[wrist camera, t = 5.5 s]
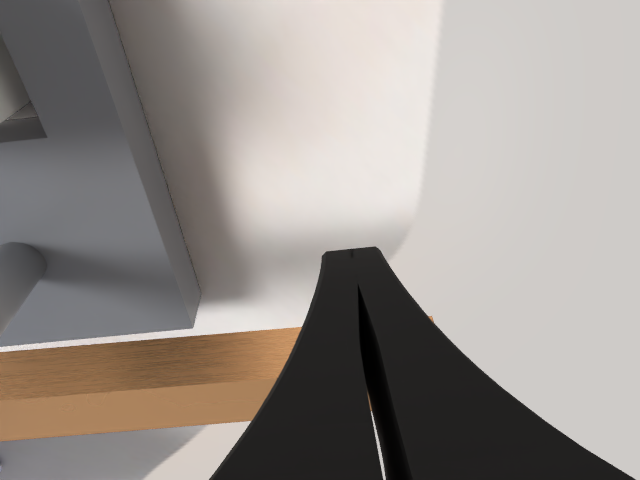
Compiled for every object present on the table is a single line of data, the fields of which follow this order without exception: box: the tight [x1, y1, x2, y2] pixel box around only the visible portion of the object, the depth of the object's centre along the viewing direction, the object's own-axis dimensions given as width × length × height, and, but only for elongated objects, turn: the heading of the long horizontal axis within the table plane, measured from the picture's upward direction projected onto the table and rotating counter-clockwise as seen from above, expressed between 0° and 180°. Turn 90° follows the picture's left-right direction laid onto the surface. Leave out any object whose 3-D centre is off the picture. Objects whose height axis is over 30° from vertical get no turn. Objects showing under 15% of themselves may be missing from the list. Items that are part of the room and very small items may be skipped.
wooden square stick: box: [0, 316, 434, 441], centre depth 12 cm, size 14×2×2 cm, turn 94°
